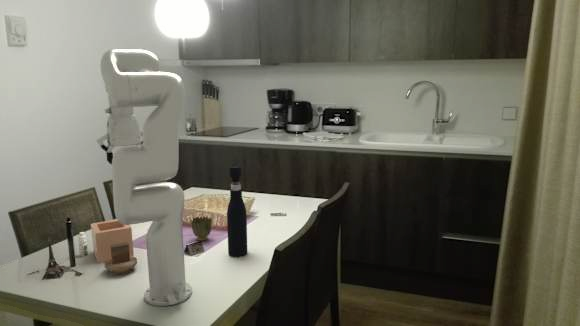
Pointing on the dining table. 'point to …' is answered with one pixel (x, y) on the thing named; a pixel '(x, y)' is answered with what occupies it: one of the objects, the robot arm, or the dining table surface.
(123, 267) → the lid
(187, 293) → the robot arm
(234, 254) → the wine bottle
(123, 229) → the open-top pink box
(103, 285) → the dining table surface
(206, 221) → the cup
